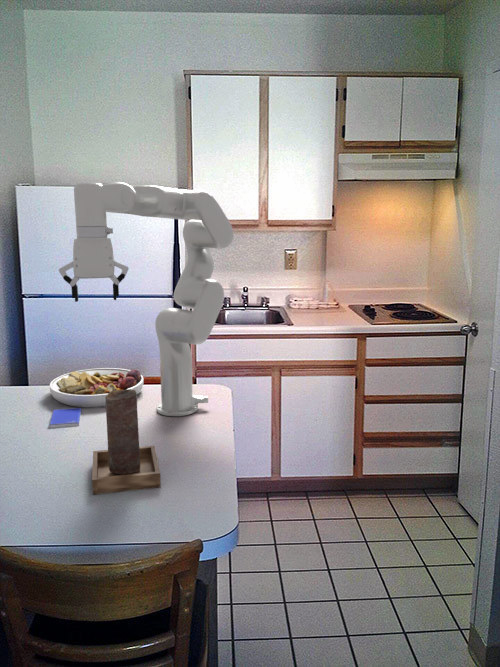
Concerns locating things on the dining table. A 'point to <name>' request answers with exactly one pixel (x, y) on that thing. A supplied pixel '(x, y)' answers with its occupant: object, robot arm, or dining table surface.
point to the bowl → (93, 385)
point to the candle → (122, 431)
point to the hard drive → (65, 417)
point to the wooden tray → (133, 481)
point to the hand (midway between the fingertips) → (96, 300)
